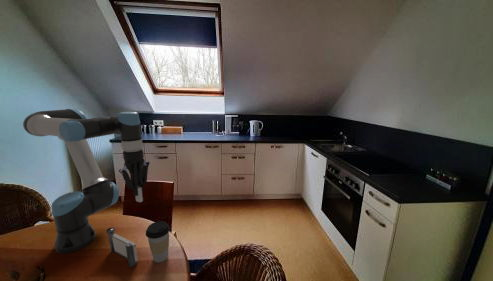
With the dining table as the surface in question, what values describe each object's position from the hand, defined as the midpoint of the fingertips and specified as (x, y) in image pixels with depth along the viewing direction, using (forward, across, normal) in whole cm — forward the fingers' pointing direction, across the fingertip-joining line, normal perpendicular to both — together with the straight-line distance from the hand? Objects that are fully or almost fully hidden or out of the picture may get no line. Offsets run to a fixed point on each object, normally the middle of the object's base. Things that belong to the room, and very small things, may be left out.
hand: (139, 200), depth 95 cm
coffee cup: (+23, +2, +13) cm, 26 cm away
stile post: (+22, +11, +6) cm, 26 cm away
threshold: (+22, +9, 0) cm, 24 cm away
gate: (+21, +9, 0) cm, 23 cm away
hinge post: (+22, +9, -9) cm, 26 cm away
